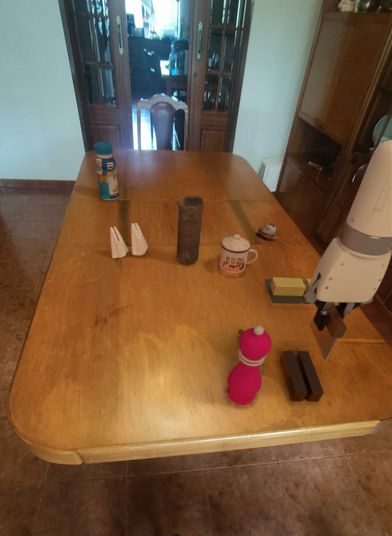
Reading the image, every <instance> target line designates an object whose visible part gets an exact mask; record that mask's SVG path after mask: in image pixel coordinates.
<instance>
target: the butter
mask: <svg viewBox="0 0 392 536" xmlns="http://www.w3.org/2000/svg"><path fill="white" fill-rule="evenodd" d="M271 279H272V282H271V285H270V287H271V290H272V293H273V295H286V296H303V294H304V291H305V289H306V286H305V284H304V282H303V278H302V277H276V276H275V277H272V278H271Z"/></svg>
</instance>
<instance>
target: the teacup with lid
mask: <svg viewBox="0 0 392 536" xmlns="http://www.w3.org/2000/svg"><path fill="white" fill-rule="evenodd" d="M220 246H221V247H220V254H219V262H218V267H219V268H220V270H222V271H224V272H226V273H228V274H229V273H230V274H239V273H242V272H244V271H245V270H246V267H247V265H249V264H253V263H254V262H255V261H256V260H257V258H258V251H257V250H256V249H254V248H251V244H250V242H249V240H247V239H246V238H244V237H241V235H240V234H238V233H235V234H234V235H232V236H231V235H230V236H226V237H224V238H223V239H222V240H221V242H220ZM249 253H253V254H254V257H253V258H252V259H249V260H248V256H249Z"/></svg>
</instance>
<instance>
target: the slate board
mask: <svg viewBox="0 0 392 536" xmlns="http://www.w3.org/2000/svg"><path fill="white" fill-rule="evenodd" d="M302 280H303V279H302ZM305 281H306V280H303V282H304V284H305ZM264 282H265V285H266V286H265V287H266V288H267V292H268V295H269V298H270V301H271V303H272V304H288V305H289V304H292V305H312V304H311V303H309V302H307V301H306V300H305V298H304V294H305V293H306V292H305V291H304V294H303V296H286V295H273V293H272V290H271V287H270V285H271V282H272V278H264Z"/></svg>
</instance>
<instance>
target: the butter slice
mask: <svg viewBox="0 0 392 536" xmlns="http://www.w3.org/2000/svg"><path fill="white" fill-rule="evenodd" d="M311 279H312V278H306V279H305V280H304V281H305V286H306V289H305V292H307V291H308V290H309V289H310V288H311V286H310V282H311Z"/></svg>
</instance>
